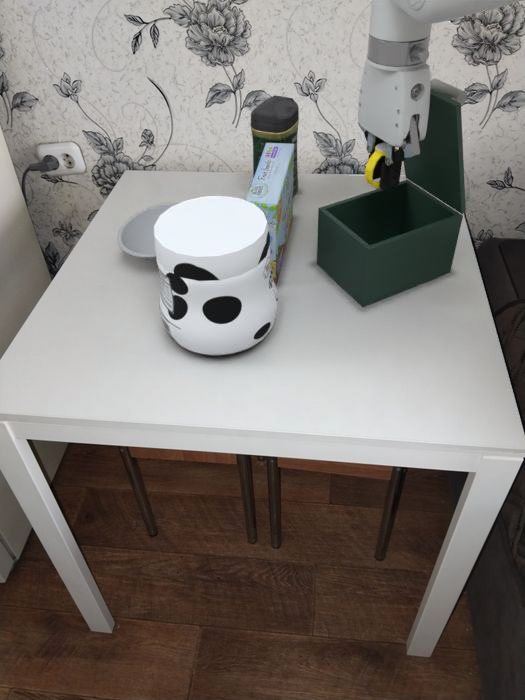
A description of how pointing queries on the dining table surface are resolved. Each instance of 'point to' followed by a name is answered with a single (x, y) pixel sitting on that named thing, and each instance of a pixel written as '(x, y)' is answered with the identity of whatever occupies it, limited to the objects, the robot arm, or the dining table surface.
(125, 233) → the dish
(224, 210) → the doce de leite jar
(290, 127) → the coffee jar
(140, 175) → the dining table surface
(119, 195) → the dining table surface
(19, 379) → the dining table surface
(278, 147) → the snack box
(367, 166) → the watch
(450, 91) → the bin lid
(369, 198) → the bin
